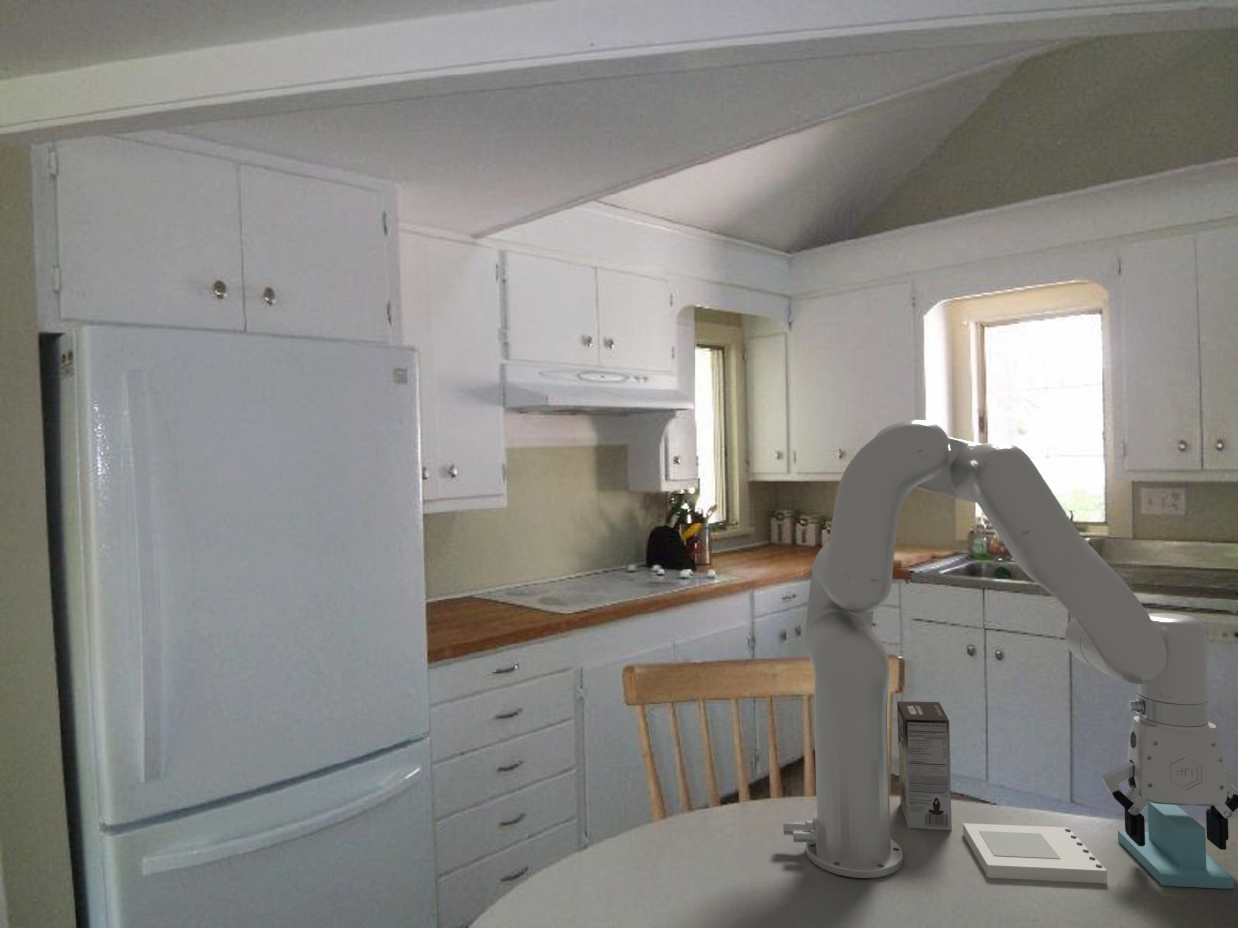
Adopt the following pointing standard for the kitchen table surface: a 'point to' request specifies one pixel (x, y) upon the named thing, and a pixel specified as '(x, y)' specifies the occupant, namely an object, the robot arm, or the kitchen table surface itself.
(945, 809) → the coffee box
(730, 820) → the kitchen table surface
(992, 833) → the white notebook
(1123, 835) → the stub
